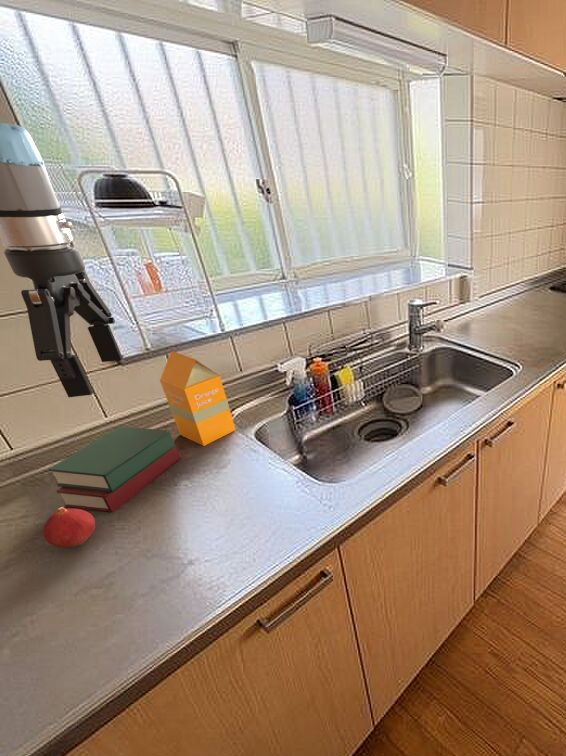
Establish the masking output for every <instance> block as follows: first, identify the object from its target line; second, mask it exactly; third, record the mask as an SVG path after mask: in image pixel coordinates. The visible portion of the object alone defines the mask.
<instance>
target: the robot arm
mask: <svg viewBox="0 0 566 756" xmlns="http://www.w3.org/2000/svg"><path fill="white" fill-rule="evenodd" d="M45 164H46V163H45V160H44V159H43V158H42V156H41V154H40V151H39V149H38V148H37V146H36V144H35V142H34V140H33V138H32V135H31V134H30V133H29V132H28V130H26V128H24V127H22V126H20V125H18V124H14V123H7V122H6V123H5V122H0V245H1V246H3V247H6V249H4V251H3V254H4V256H5V258H6V260H7V262H8V264H9V267H10V268H11V270H12V272H13V274H14V275H15V276H17V277H20V278H28V279H30V280H31V281H32V284H33V288H34V289H22V290H21V292H20V294H21V297H22V299H23V302H24V304H25V306H26V310H27V315H28V320H29V321H28V322H29V327H30V331H31V337H32V342H33V346H34V347H33V348H34V353H35V357H36V360H38V361H39V362H43V361H50V363H51V365H52V367H53V368H54V371H55V373H56V375H57V377H58V379H59V381H60V383H61V385H62V387H63V389H64V391H65V393H66V395H67V397H68V398H76V397H84V396H92V395H93V394H94V391H93V389H92V387H91V384H90V382H89V379H88V378H87V376H86V373H85V371H84V369H83V367H82V365H81V363H80V360H79V357H78V356H77V354H72V337H71V334H72V333H71V317H72V316H74V315H75V313H76V314H77V315H79V317H81V318H82V319H83V320H84V321H85V322H86V323H87V324H88V325H89V326H88V327H87V331H88V333H89V335H90V337H91V339H92V342H93V344H94V347H95V349H96V351H97V353H98V355H99V359H100V361H101V363H107V362H118V361H119V362H120V361H123V359H124V358H123V356H122V353H121V351H120V349H119V346H118V343H117V341H116V338H115V336H114V333H113V331H112V328H111V326H110V325H112V324H115V323H116V320H115V318H114V317H113V314H112V312H111V310H110V309H109V308H108V306H107V305H106V303H105V302H104V300H103V298H102V297H101V295H100V294H99V293H98V291H97V290H96V288H95V287H94V286H93V284H92V283H91V281H90V279H89V277H88V275H87V272H86V271H85V269H86V265H85V263H84V261H83V258H82V256H81V253H80V251H79V248H78V247H77V246H75V245H74V244H72V242H74V237H73V235H72V231H71V230H70V229H72V228H73V224H72V222H70V221H67V220H66V217H65V215H64V213H63V209H62V208H61V205H60V203H59V201H58V198H57V195H56V193H55V190H54V188H53V185H52V182H51V180H50V177H49V174H48V171H47V168H46V166H45Z"/></svg>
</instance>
